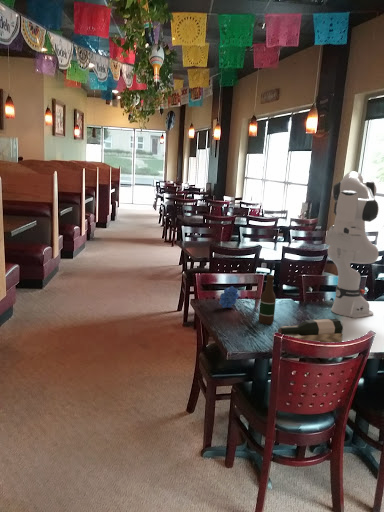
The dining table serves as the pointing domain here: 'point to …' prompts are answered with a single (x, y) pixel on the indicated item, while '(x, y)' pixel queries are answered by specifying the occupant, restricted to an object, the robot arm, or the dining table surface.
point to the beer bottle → (267, 303)
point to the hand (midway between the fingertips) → (340, 258)
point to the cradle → (319, 337)
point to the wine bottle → (314, 327)
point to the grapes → (229, 297)
